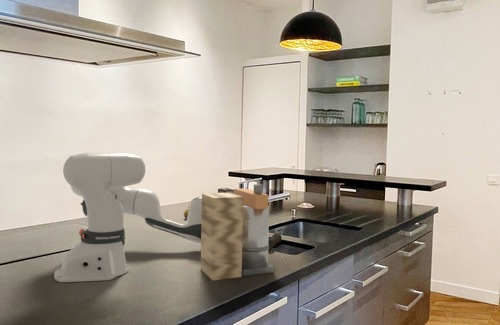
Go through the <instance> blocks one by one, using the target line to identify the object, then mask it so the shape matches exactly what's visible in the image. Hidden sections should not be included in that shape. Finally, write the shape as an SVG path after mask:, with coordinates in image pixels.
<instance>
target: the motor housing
mask: <svg viewBox="0 0 500 325" xmlns="http://www.w3.org/2000/svg"><path fill="white" fill-rule="evenodd" d="M269 228H270V205H269V204H268V208H267V209H254V208H251V207H249V206H246V205H243V231H242V276H253V275H262V274H271V273H274V265H272V264H270V263H269V251H268V249H269V244H268V239H270V237H269V236H270V235H269V234H270V233H269V232H270V230H269Z"/></svg>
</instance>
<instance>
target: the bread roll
mask: <svg viewBox="0 0 500 325" xmlns="http://www.w3.org/2000/svg"><path fill="white" fill-rule="evenodd" d="M187 207H188V208H186V209H185V211H183V217H184V219H186V218H187V217H188V211H189V207H190V204H189V205H188V206H187Z"/></svg>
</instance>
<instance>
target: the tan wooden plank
mask: <svg viewBox="0 0 500 325" xmlns="http://www.w3.org/2000/svg"><path fill="white" fill-rule="evenodd" d="M233 190H234V194H236V195H239V196H242V197H243V205H246V206H249V207H251V208H254V209H267V208H268V205H269V194H267V193H263V184H257V183H256V184H255V183H254V184H253V190H252V189H249V188H234V189H233Z"/></svg>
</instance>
